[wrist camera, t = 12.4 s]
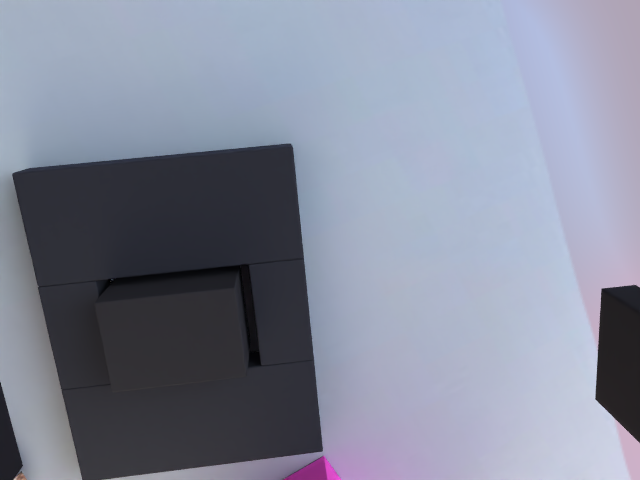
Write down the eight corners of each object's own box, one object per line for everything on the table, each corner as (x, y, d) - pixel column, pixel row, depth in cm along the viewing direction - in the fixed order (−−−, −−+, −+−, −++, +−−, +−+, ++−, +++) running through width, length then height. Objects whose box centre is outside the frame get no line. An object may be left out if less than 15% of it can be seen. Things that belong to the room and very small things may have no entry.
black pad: (115, 277, 31) (93, 302, 27) (240, 264, 31) (235, 287, 28) (130, 357, 32) (111, 393, 28) (250, 344, 33) (247, 377, 29)
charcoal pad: (28, 168, 29) (11, 173, 27) (291, 143, 30) (292, 146, 28) (93, 460, 34) (82, 482, 32) (320, 432, 35) (323, 452, 33)
